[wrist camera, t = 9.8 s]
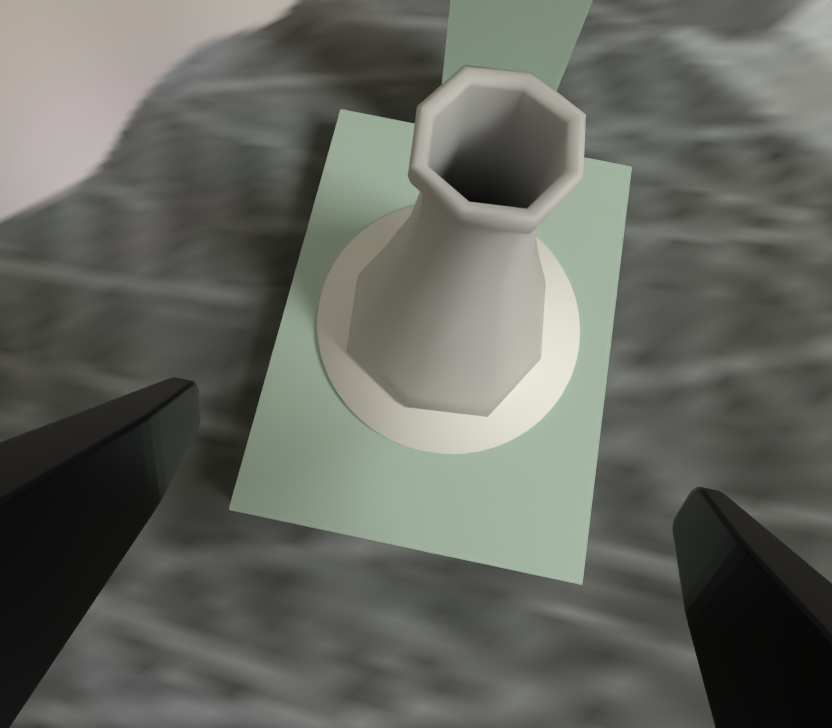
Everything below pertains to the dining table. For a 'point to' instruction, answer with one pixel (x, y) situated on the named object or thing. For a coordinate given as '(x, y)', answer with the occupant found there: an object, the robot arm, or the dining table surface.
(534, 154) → the flask
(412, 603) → the dining table surface
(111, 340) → the dining table surface
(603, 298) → the bench press
